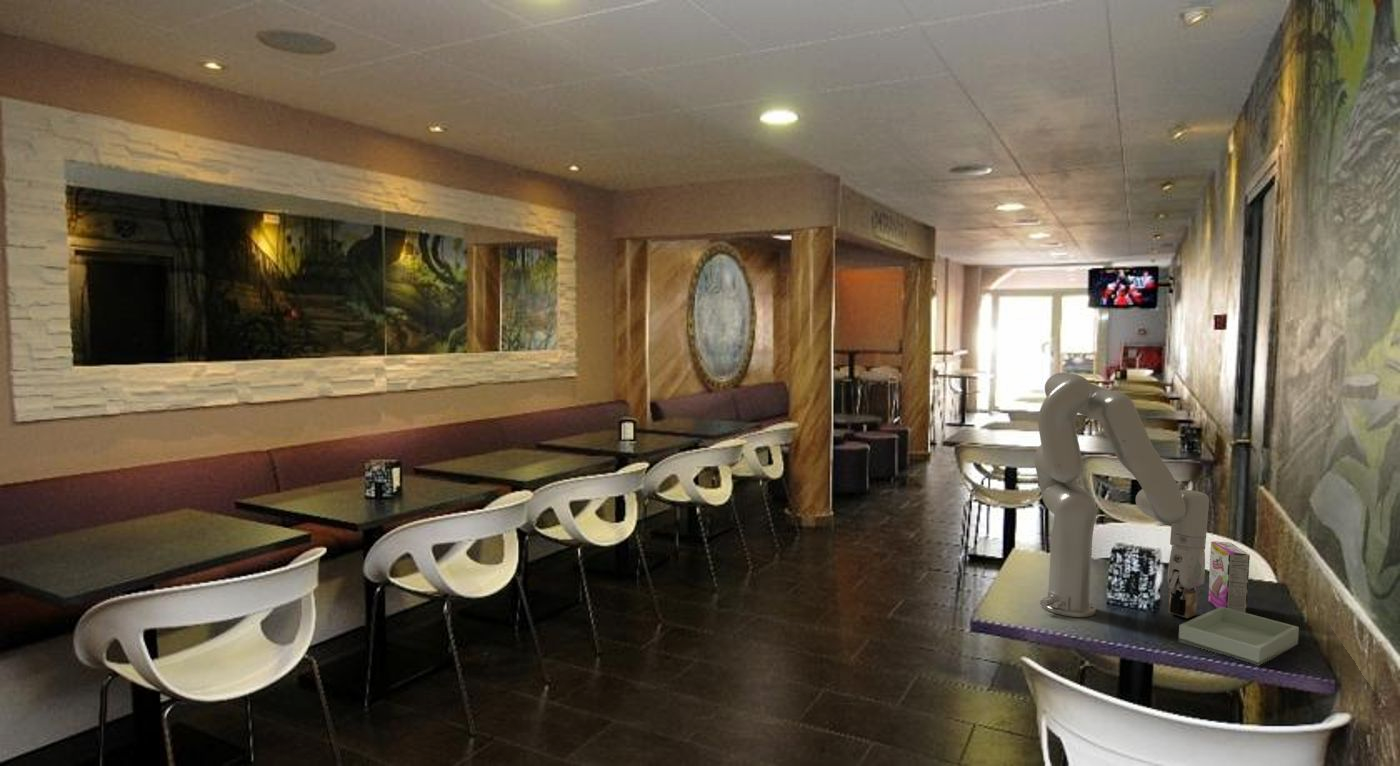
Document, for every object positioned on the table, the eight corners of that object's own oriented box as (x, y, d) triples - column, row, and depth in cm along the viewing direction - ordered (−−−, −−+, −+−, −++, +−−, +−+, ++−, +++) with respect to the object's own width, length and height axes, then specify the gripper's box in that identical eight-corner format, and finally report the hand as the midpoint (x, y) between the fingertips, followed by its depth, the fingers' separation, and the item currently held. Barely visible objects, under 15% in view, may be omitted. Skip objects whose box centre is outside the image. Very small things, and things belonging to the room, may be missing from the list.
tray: (1258, 666, 170) (1259, 648, 170) (1178, 641, 183) (1179, 624, 183) (1297, 644, 183) (1298, 627, 182) (1220, 622, 196) (1221, 606, 195)
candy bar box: (1206, 601, 210) (1209, 540, 209) (1227, 603, 209) (1231, 541, 208) (1224, 616, 199) (1229, 552, 198) (1247, 618, 198) (1251, 554, 197)
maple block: (1187, 618, 196) (1189, 594, 196) (1168, 612, 200) (1170, 589, 200) (1195, 614, 199) (1197, 591, 199) (1176, 609, 203) (1178, 586, 202)
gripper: (1188, 548, 190) (1182, 623, 192) (1219, 539, 200) (1213, 610, 201) (1155, 541, 196) (1150, 613, 198) (1187, 532, 206) (1181, 601, 208)
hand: (1182, 611), depth 200 cm, fingers closed on maple block, 4 cm apart
